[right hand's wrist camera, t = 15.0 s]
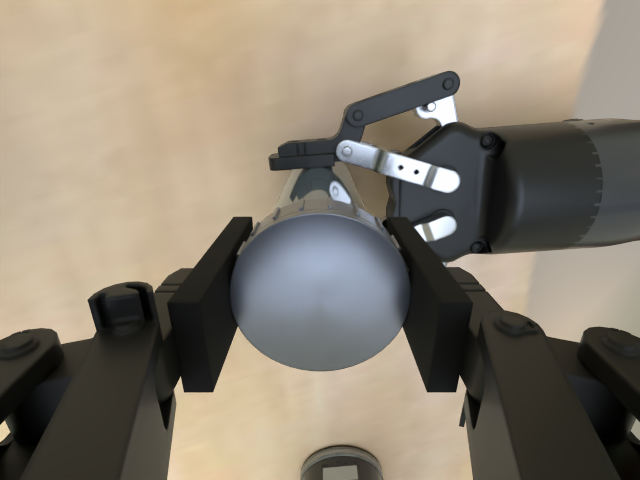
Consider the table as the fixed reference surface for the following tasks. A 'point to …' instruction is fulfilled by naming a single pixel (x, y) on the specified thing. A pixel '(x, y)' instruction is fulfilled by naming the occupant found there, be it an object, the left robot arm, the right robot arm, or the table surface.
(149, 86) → the table surface
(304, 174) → the blue-grey cylinder
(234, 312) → the grey domed jar lid
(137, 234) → the table surface
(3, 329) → the table surface
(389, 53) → the table surface
